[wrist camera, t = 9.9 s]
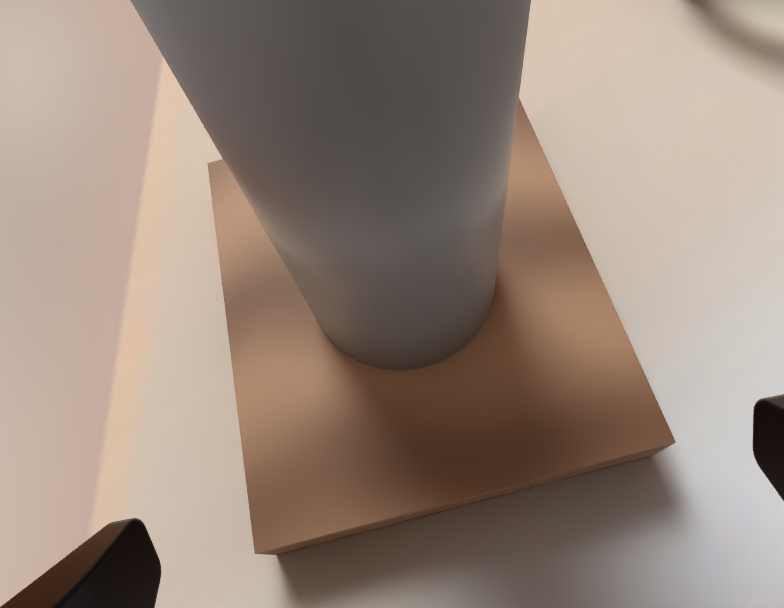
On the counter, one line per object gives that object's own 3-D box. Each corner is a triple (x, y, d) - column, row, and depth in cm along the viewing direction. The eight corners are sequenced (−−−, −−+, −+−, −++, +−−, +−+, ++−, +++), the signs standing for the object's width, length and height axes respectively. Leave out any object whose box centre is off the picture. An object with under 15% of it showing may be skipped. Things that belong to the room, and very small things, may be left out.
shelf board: (653, 454, 17) (675, 442, 16) (276, 554, 17) (255, 553, 16) (508, 120, 23) (512, 83, 22) (226, 194, 23) (207, 163, 22)
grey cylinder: (534, 287, 18) (673, -231, 6) (388, 409, 17) (227, 56, 5) (412, 176, 20) (347, -353, 9) (277, 277, 19) (-9, -174, 7)
